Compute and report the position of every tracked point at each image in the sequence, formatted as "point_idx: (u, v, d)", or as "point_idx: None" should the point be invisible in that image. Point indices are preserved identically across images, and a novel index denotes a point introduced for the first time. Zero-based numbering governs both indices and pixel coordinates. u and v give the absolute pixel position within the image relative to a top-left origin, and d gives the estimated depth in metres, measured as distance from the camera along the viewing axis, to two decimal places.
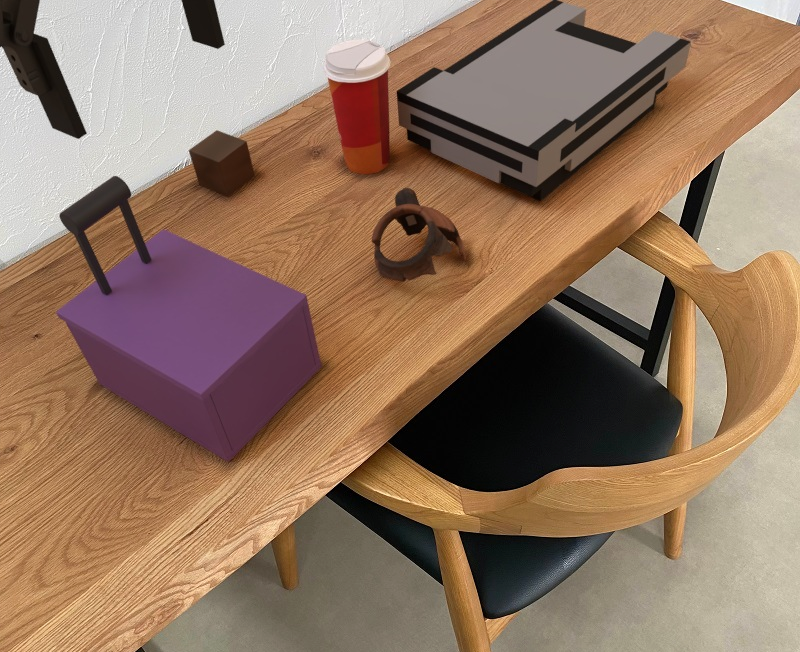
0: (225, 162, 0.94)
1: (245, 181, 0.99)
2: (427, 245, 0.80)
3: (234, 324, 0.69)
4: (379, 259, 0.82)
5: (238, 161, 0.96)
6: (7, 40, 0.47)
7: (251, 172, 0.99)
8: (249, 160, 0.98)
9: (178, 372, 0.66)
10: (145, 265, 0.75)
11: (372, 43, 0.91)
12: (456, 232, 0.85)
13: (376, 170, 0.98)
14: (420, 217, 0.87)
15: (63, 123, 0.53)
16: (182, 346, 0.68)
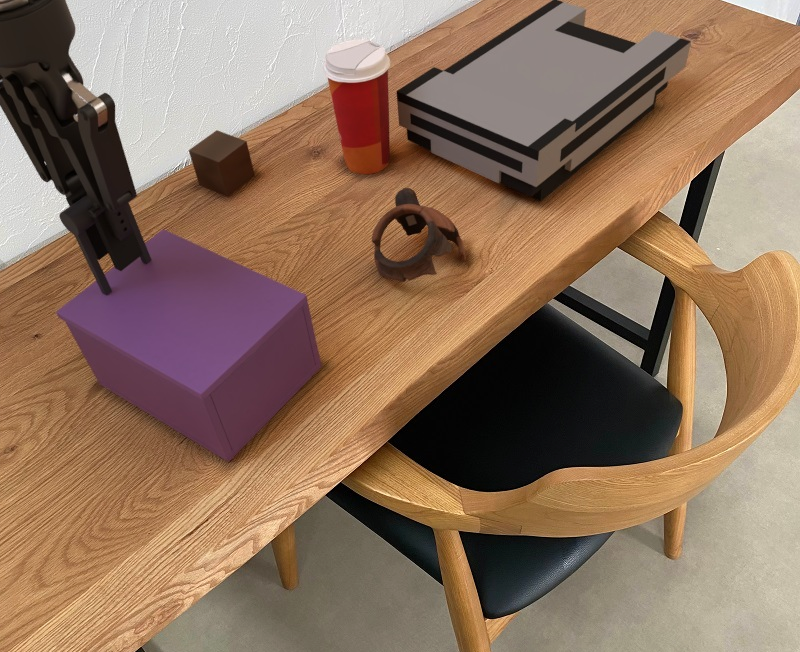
0: (225, 162, 0.94)
1: (245, 181, 0.99)
2: (427, 245, 0.80)
3: (234, 324, 0.69)
4: (379, 259, 0.82)
5: (238, 161, 0.96)
6: None
7: (251, 172, 0.99)
8: (249, 160, 0.98)
9: (178, 372, 0.66)
10: (145, 265, 0.75)
11: (372, 43, 0.91)
12: (456, 232, 0.85)
13: (376, 170, 0.98)
14: (420, 217, 0.87)
15: (131, 253, 0.71)
16: (182, 346, 0.68)
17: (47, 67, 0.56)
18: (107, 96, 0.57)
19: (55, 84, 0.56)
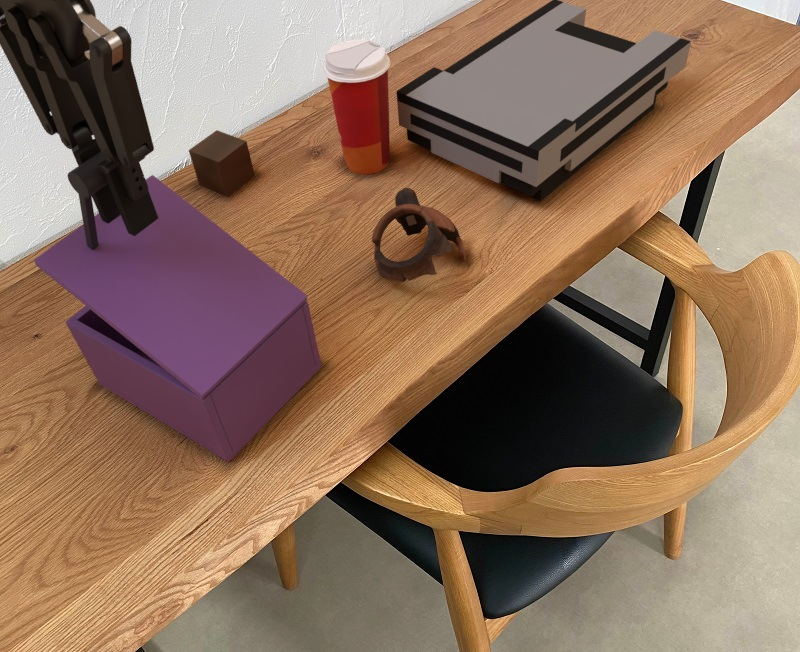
0: (225, 162, 0.94)
1: (245, 181, 0.99)
2: (427, 245, 0.80)
3: (234, 316, 0.68)
4: (379, 259, 0.82)
5: (238, 161, 0.96)
6: None
7: (251, 172, 0.99)
8: (249, 160, 0.98)
9: (177, 364, 0.65)
10: None
11: (372, 43, 0.91)
12: (456, 232, 0.85)
13: (376, 170, 0.98)
14: (420, 217, 0.87)
15: (146, 216, 0.65)
16: (181, 332, 0.66)
17: None
18: (122, 29, 0.51)
19: (64, 15, 0.50)
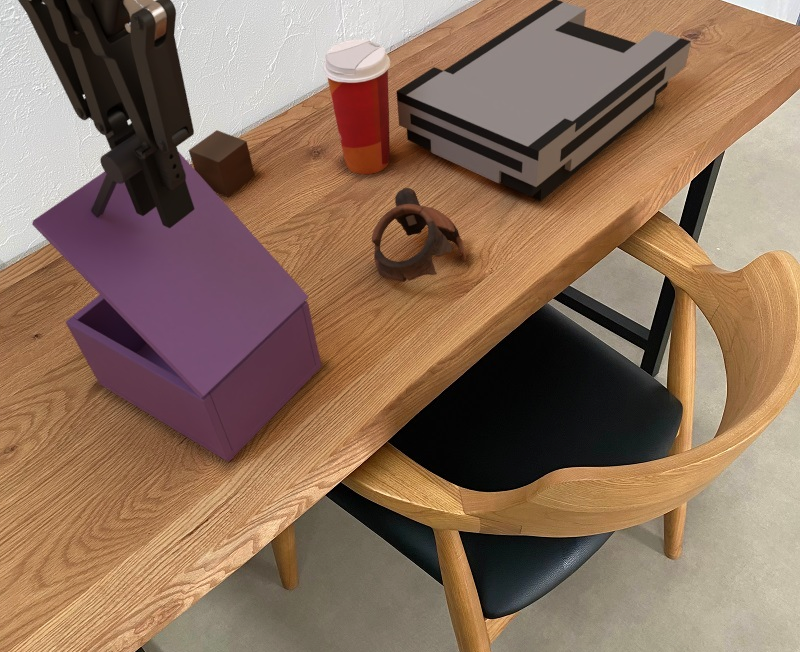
0: (225, 162, 0.94)
1: (245, 181, 0.99)
2: (427, 245, 0.80)
3: (238, 312, 0.67)
4: (379, 259, 0.82)
5: (238, 161, 0.96)
6: None
7: (251, 172, 0.99)
8: (249, 160, 0.98)
9: (180, 360, 0.64)
10: None
11: (372, 43, 0.91)
12: (456, 232, 0.85)
13: (376, 170, 0.98)
14: (420, 217, 0.87)
15: (182, 207, 0.60)
16: (185, 325, 0.65)
17: None
18: (167, 0, 0.47)
19: None
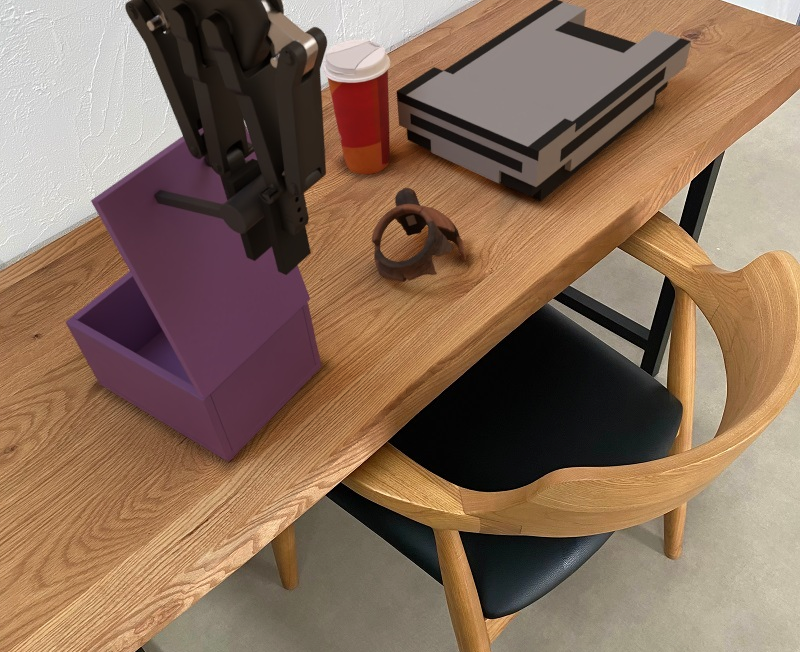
0: None
1: None
2: (427, 245, 0.80)
3: (252, 314, 0.66)
4: (379, 259, 0.82)
5: None
6: None
7: None
8: None
9: (195, 363, 0.62)
10: (205, 168, 0.58)
11: (372, 43, 0.91)
12: (456, 232, 0.85)
13: (376, 170, 0.98)
14: (420, 217, 0.87)
15: (299, 251, 0.55)
16: (207, 327, 0.62)
17: None
18: (319, 31, 0.41)
19: (251, 13, 0.40)
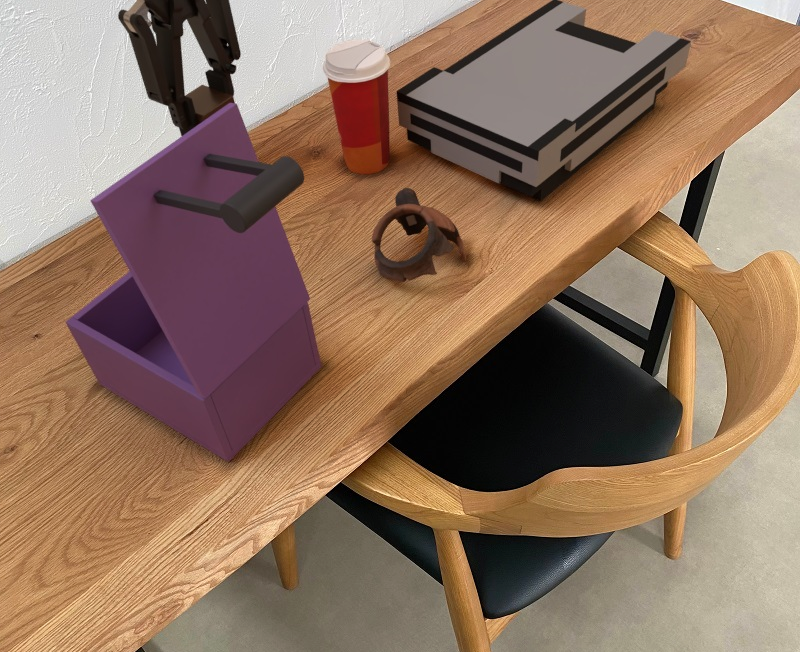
0: None
1: None
2: (427, 245, 0.80)
3: (252, 314, 0.66)
4: (379, 259, 0.82)
5: None
6: None
7: None
8: None
9: (195, 363, 0.63)
10: (205, 167, 0.58)
11: (372, 43, 0.91)
12: (456, 232, 0.85)
13: (376, 170, 0.98)
14: (420, 217, 0.87)
15: None
16: (207, 327, 0.62)
17: None
18: None
19: None
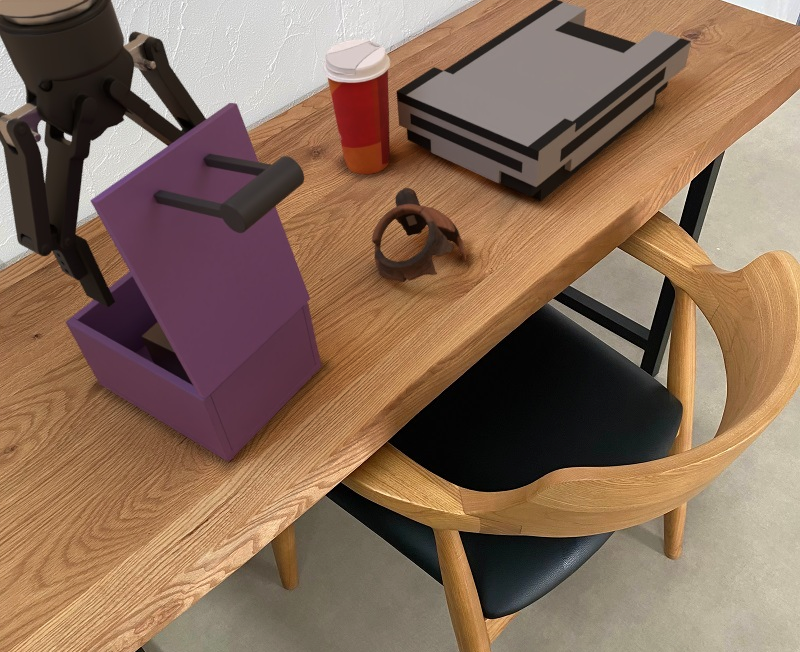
0: None
1: None
2: (427, 245, 0.80)
3: (252, 314, 0.66)
4: (379, 259, 0.82)
5: None
6: None
7: None
8: None
9: (195, 363, 0.63)
10: (205, 167, 0.58)
11: (372, 43, 0.91)
12: (456, 232, 0.85)
13: (376, 170, 0.98)
14: (420, 217, 0.87)
15: None
16: (207, 327, 0.62)
17: None
18: (134, 32, 0.59)
19: (125, 55, 0.57)
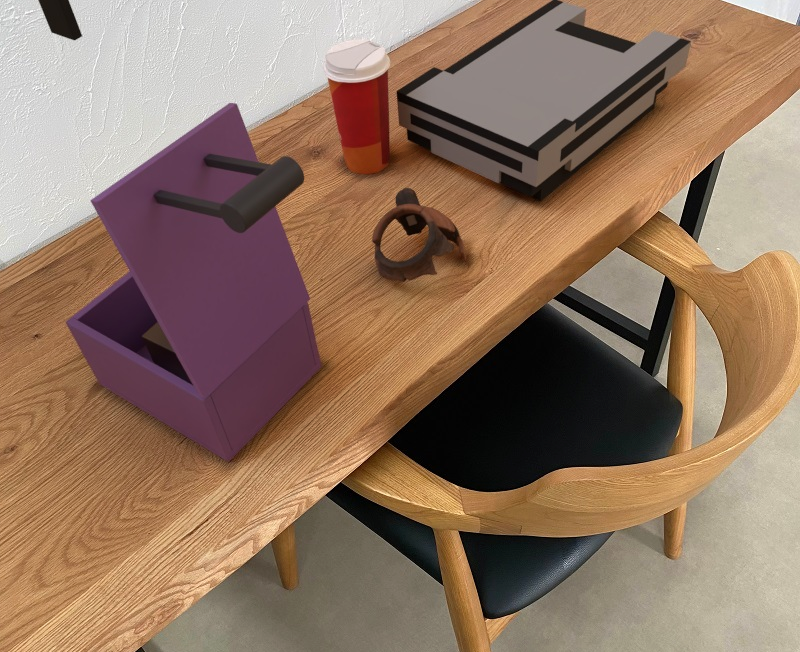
0: None
1: None
2: (427, 245, 0.80)
3: (252, 314, 0.66)
4: (379, 259, 0.82)
5: None
6: None
7: None
8: None
9: (195, 363, 0.63)
10: (205, 167, 0.58)
11: (372, 43, 0.91)
12: (456, 232, 0.85)
13: (376, 170, 0.98)
14: (420, 217, 0.87)
15: None
16: (207, 327, 0.62)
17: None
18: None
19: None
